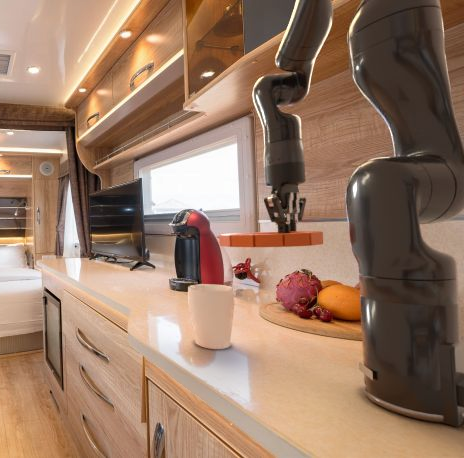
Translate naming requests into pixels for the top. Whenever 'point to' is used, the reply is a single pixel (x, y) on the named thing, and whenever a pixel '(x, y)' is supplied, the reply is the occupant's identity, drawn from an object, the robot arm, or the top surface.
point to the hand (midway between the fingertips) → (287, 241)
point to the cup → (211, 314)
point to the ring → (272, 239)
